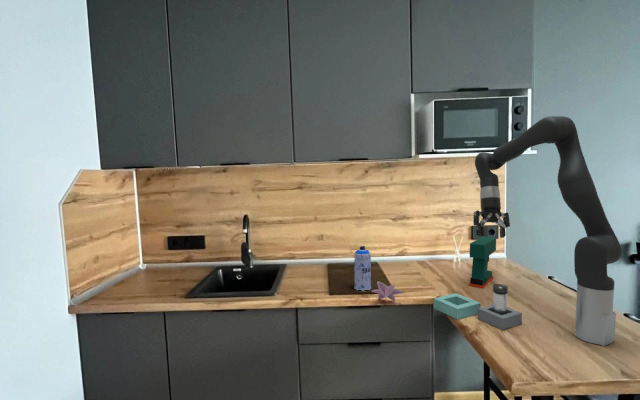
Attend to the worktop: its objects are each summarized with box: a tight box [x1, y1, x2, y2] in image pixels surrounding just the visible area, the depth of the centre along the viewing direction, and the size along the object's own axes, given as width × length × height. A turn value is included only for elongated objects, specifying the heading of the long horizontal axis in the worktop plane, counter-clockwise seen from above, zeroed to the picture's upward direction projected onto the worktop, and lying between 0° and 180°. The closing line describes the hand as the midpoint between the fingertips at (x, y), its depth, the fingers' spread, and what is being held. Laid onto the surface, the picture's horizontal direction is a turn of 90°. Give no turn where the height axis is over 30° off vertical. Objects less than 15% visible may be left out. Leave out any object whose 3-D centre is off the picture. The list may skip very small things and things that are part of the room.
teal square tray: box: [433, 292, 482, 320], centre depth 134 cm, size 12×12×4 cm
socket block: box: [477, 303, 523, 331], centre depth 124 cm, size 10×10×4 cm
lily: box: [371, 280, 405, 302], centre depth 143 cm, size 12×12×10 cm
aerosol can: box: [353, 245, 372, 292], centre depth 161 cm, size 8×8×20 cm
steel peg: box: [492, 283, 509, 315], centre depth 124 cm, size 5×5×13 cm
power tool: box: [468, 235, 497, 289], centre depth 172 cm, size 32×7×20 cm, turn 141°
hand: (492, 236), depth 142 cm, fingers open, 8 cm apart
